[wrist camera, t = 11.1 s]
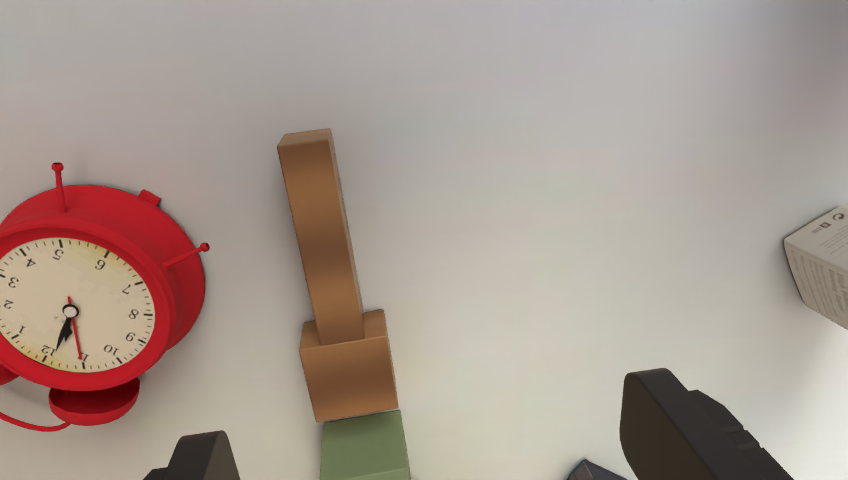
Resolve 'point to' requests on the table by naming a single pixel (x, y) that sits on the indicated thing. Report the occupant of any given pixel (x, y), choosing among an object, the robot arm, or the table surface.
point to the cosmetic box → (822, 264)
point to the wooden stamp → (333, 289)
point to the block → (365, 449)
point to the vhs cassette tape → (592, 473)
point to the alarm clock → (92, 296)
